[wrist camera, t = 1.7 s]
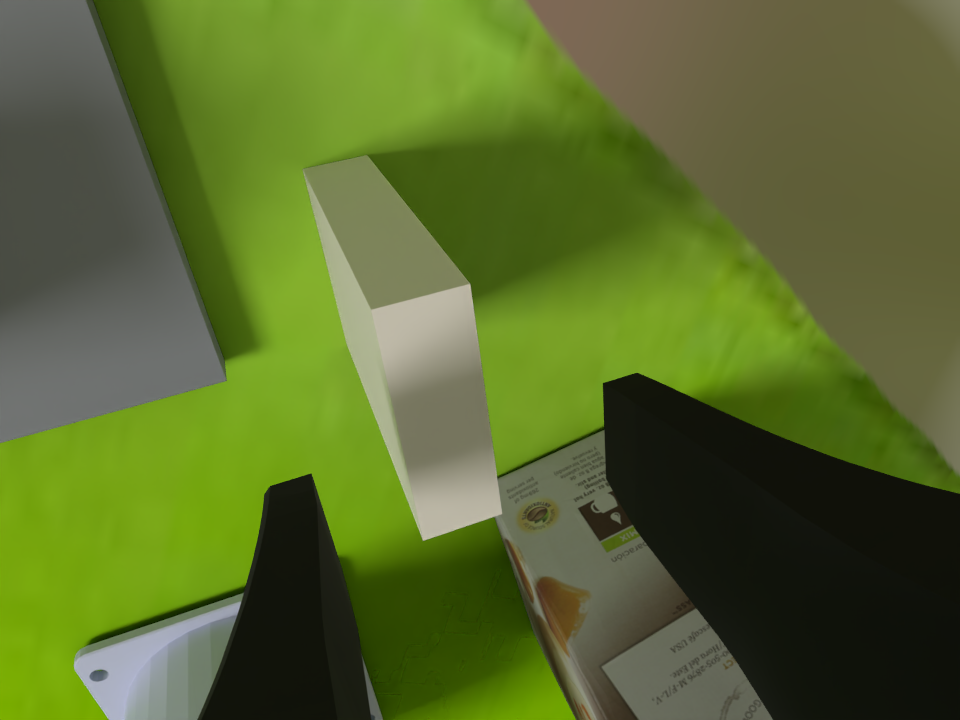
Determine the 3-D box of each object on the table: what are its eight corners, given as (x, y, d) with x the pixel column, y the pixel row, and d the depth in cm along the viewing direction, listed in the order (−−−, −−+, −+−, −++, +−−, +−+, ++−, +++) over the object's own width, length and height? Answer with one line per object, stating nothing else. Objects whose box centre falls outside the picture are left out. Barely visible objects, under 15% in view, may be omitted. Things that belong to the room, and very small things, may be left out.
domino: (402, 329, 21) (502, 513, 14) (347, 344, 20) (423, 540, 14) (366, 155, 18) (470, 283, 11) (302, 168, 18) (371, 310, 11)
